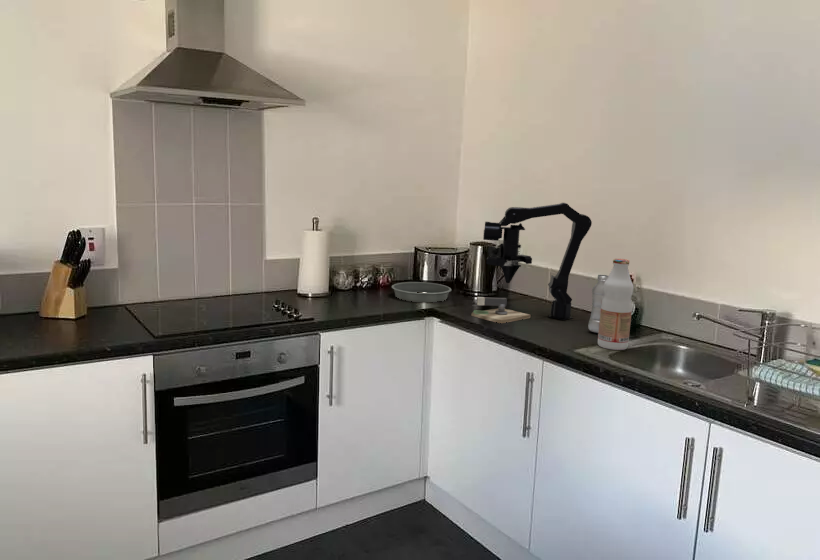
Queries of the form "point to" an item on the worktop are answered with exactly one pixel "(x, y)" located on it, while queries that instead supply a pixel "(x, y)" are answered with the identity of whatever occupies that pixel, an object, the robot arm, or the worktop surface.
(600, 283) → the plastic bottle
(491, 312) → the beige flat board
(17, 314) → the worktop surface
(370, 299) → the worktop surface
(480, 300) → the peg
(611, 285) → the fruit juice
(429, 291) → the cake pan
